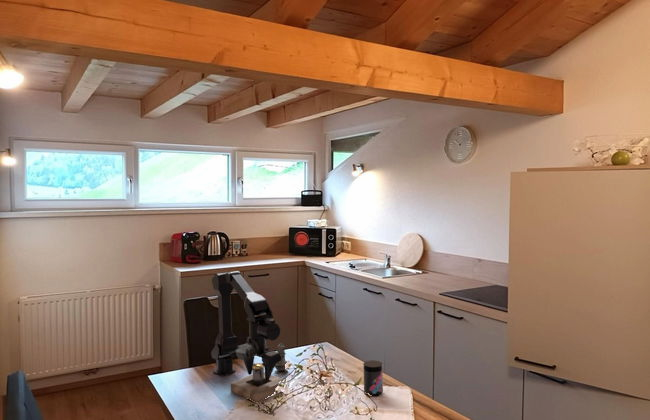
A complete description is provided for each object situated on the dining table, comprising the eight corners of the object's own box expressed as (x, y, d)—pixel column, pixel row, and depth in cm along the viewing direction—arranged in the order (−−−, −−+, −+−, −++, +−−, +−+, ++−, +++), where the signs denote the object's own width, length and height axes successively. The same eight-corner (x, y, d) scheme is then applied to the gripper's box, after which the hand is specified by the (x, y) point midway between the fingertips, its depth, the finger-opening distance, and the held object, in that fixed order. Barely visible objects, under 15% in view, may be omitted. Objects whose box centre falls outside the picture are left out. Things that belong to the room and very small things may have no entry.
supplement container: (365, 397, 164) (364, 367, 164) (362, 389, 171) (361, 360, 171) (384, 396, 165) (384, 366, 164) (381, 388, 171) (380, 360, 171)
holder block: (230, 392, 170) (230, 382, 170) (260, 380, 181) (260, 371, 181) (257, 403, 161) (256, 392, 161) (286, 389, 172) (286, 380, 172)
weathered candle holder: (286, 375, 186) (285, 344, 186) (272, 374, 187) (271, 344, 187) (290, 369, 192) (290, 340, 191) (276, 369, 193) (275, 339, 192)
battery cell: (250, 390, 171) (250, 365, 171) (259, 386, 174) (258, 362, 174) (258, 393, 168) (257, 367, 168) (266, 389, 171) (266, 364, 171)
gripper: (222, 334, 170) (224, 378, 171) (257, 344, 158) (258, 391, 159) (247, 327, 179) (248, 369, 179) (282, 336, 167) (282, 381, 167)
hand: (258, 377), depth 171 cm, fingers open, 9 cm apart
